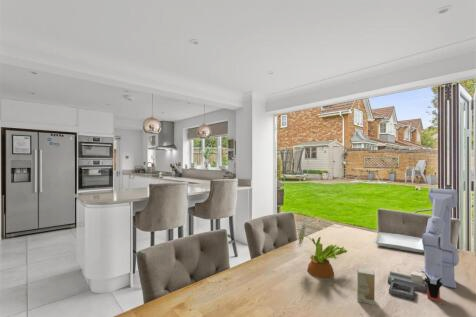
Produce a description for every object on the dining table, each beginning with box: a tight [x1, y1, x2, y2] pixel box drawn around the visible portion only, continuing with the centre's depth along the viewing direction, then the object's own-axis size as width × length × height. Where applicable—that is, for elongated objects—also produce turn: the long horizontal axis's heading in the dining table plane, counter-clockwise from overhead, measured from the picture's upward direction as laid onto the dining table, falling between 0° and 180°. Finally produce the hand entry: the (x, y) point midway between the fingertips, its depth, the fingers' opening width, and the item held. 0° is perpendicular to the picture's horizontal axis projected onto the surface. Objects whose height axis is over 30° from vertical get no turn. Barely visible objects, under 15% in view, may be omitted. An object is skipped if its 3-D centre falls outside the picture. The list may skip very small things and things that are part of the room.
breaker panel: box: [387, 270, 426, 293], centre depth 117 cm, size 10×14×2 cm
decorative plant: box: [297, 223, 348, 279], centre depth 128 cm, size 27×24×25 cm
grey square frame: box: [388, 281, 415, 301], centre depth 109 cm, size 8×8×2 cm
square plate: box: [374, 231, 424, 253], centre depth 169 cm, size 27×27×4 cm
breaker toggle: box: [410, 270, 423, 284], centre depth 114 cm, size 4×4×4 cm
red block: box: [426, 286, 441, 302], centre depth 104 cm, size 4×4×5 cm
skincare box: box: [356, 267, 376, 305], centre depth 103 cm, size 6×4×12 cm
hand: (433, 294), depth 104 cm, fingers open, 4 cm apart
